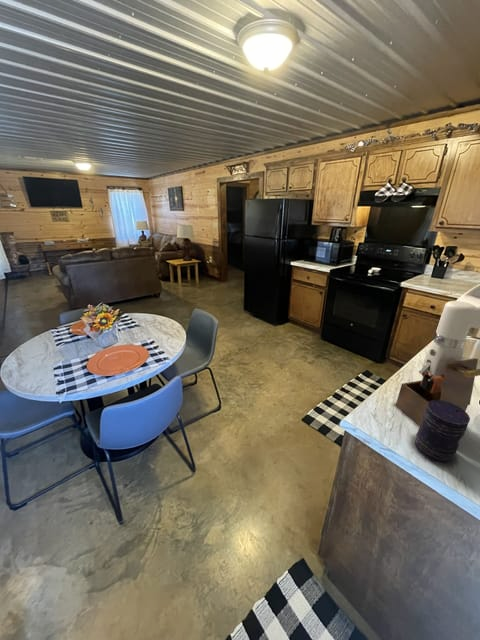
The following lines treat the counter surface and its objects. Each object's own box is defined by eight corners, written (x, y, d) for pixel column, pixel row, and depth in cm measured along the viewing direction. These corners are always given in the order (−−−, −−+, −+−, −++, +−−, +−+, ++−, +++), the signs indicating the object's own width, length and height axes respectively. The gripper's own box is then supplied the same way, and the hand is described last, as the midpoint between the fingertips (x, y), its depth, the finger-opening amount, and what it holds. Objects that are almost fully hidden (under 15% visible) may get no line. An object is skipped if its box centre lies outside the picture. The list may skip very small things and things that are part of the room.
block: (430, 383, 92) (434, 372, 90) (443, 391, 88) (447, 380, 86) (420, 385, 91) (423, 374, 89) (432, 393, 87) (436, 381, 85)
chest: (395, 405, 98) (401, 383, 94) (420, 400, 101) (427, 379, 97) (430, 435, 85) (439, 411, 81) (458, 428, 88) (468, 405, 84)
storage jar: (429, 465, 75) (445, 425, 69) (406, 437, 84) (419, 400, 78) (461, 463, 76) (480, 423, 70) (436, 436, 85) (450, 398, 79)
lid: (445, 362, 78) (462, 369, 73) (475, 358, 80) (493, 363, 76) (438, 409, 81) (454, 418, 77) (467, 403, 84) (484, 411, 79)
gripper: (438, 349, 77) (421, 398, 84) (481, 342, 81) (462, 391, 88) (416, 337, 84) (402, 384, 91) (457, 332, 87) (441, 378, 94)
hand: (431, 387), depth 89 cm, fingers closed on block, 4 cm apart
